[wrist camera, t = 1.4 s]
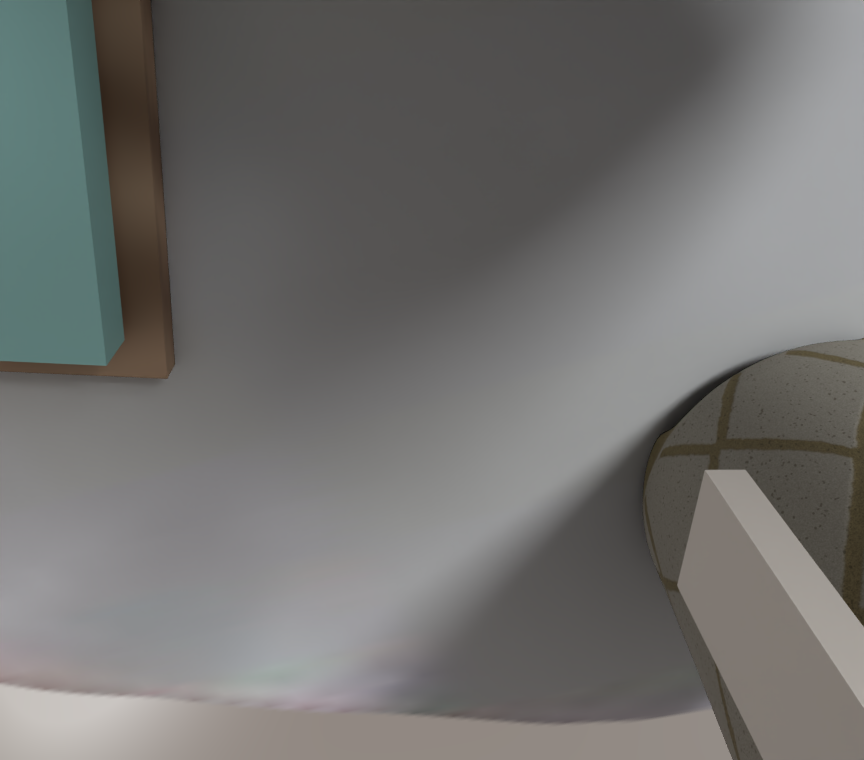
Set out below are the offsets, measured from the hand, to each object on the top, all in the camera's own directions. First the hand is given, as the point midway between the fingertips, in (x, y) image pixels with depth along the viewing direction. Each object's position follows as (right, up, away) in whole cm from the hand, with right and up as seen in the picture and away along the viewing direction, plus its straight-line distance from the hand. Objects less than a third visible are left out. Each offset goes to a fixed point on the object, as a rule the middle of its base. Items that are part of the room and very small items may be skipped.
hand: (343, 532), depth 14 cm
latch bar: (-12, +13, +14) cm, 23 cm away
